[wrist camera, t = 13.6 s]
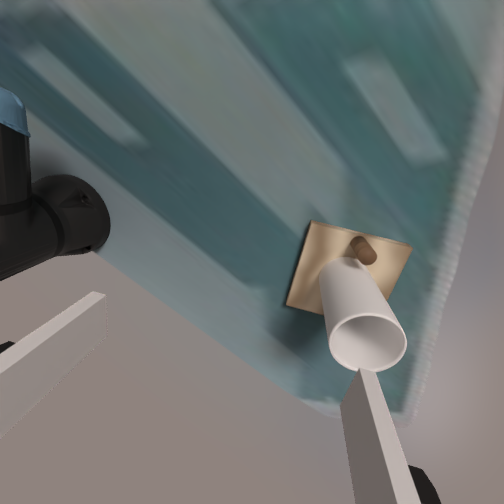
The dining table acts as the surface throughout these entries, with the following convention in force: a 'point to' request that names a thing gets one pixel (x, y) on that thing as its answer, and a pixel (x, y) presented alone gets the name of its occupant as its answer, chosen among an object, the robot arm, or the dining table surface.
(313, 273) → the peg board
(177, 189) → the dining table surface
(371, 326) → the cup
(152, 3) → the dining table surface
